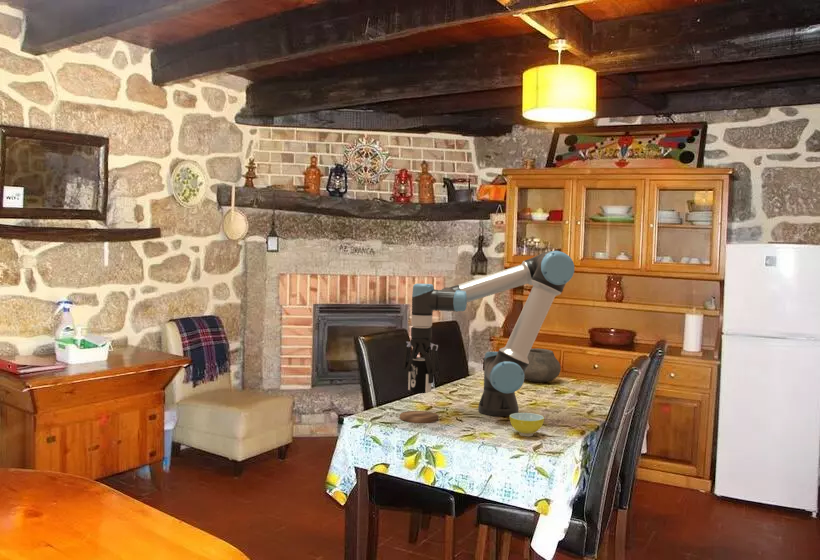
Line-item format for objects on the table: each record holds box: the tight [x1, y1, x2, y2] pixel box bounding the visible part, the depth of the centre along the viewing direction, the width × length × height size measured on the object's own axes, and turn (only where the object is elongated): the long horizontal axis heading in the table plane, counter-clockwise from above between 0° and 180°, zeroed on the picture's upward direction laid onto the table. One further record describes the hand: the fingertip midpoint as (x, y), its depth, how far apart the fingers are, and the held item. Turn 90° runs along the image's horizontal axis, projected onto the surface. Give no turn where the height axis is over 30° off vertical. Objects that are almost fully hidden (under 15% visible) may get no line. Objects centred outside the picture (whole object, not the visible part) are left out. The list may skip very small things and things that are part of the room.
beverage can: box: [409, 357, 428, 394], centre depth 252 cm, size 7×7×12 cm
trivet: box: [399, 410, 440, 424], centre depth 253 cm, size 14×14×1 cm
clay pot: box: [524, 347, 562, 383], centre depth 335 cm, size 22×21×15 cm
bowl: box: [509, 412, 545, 437], centre depth 234 cm, size 11×12×6 cm
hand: (419, 390), depth 252 cm, fingers closed on beverage can, 7 cm apart
